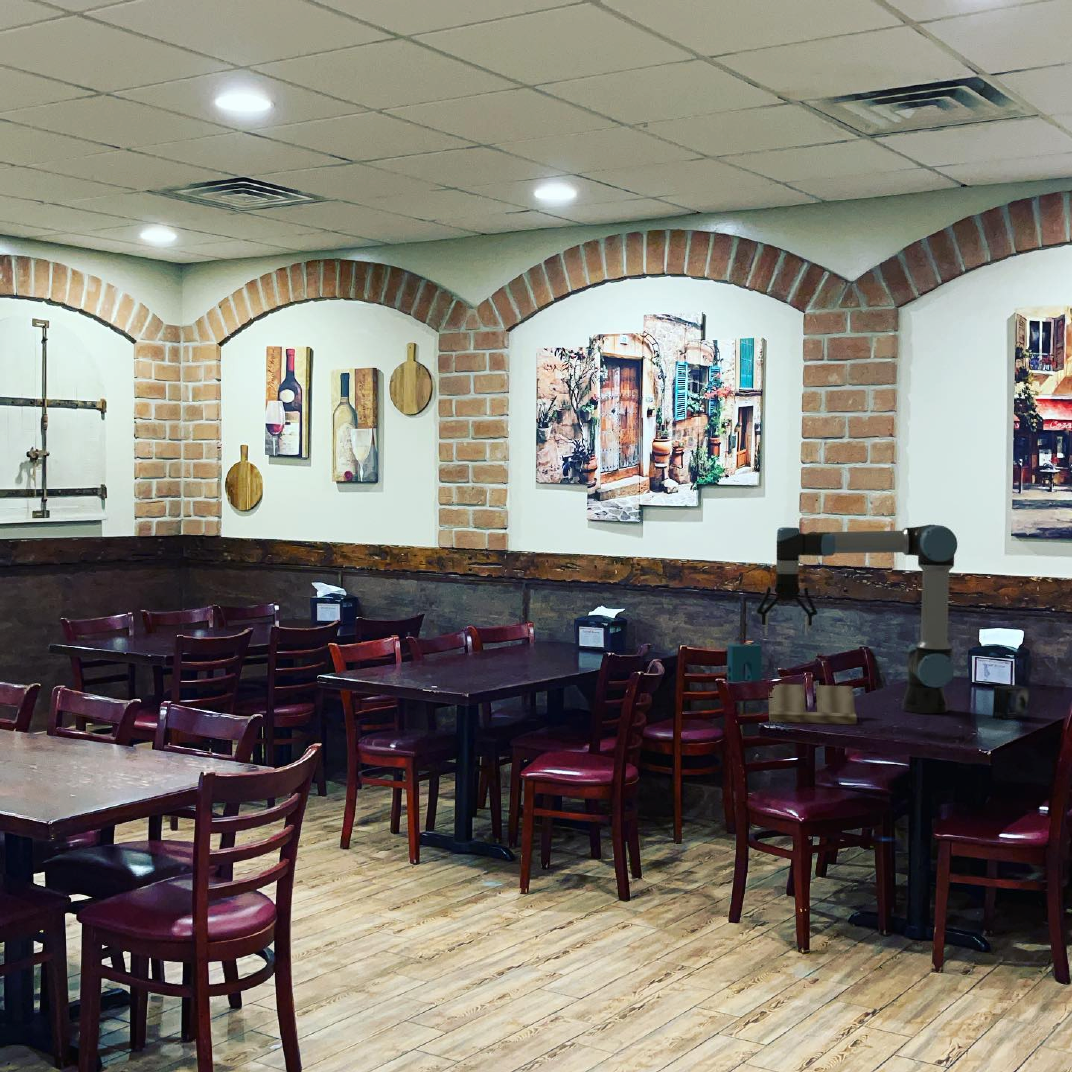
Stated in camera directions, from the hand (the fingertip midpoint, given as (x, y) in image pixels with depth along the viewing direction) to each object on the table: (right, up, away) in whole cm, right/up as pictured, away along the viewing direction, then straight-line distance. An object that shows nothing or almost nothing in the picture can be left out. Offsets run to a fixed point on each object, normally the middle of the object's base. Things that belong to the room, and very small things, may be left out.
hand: (786, 635), depth 462 cm
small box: (+75, -28, -3) cm, 80 cm away
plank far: (0, -23, -3) cm, 23 cm away
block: (-10, -26, +28) cm, 40 cm away
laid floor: (+6, -27, -14) cm, 31 cm away
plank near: (+15, -23, -5) cm, 28 cm away
